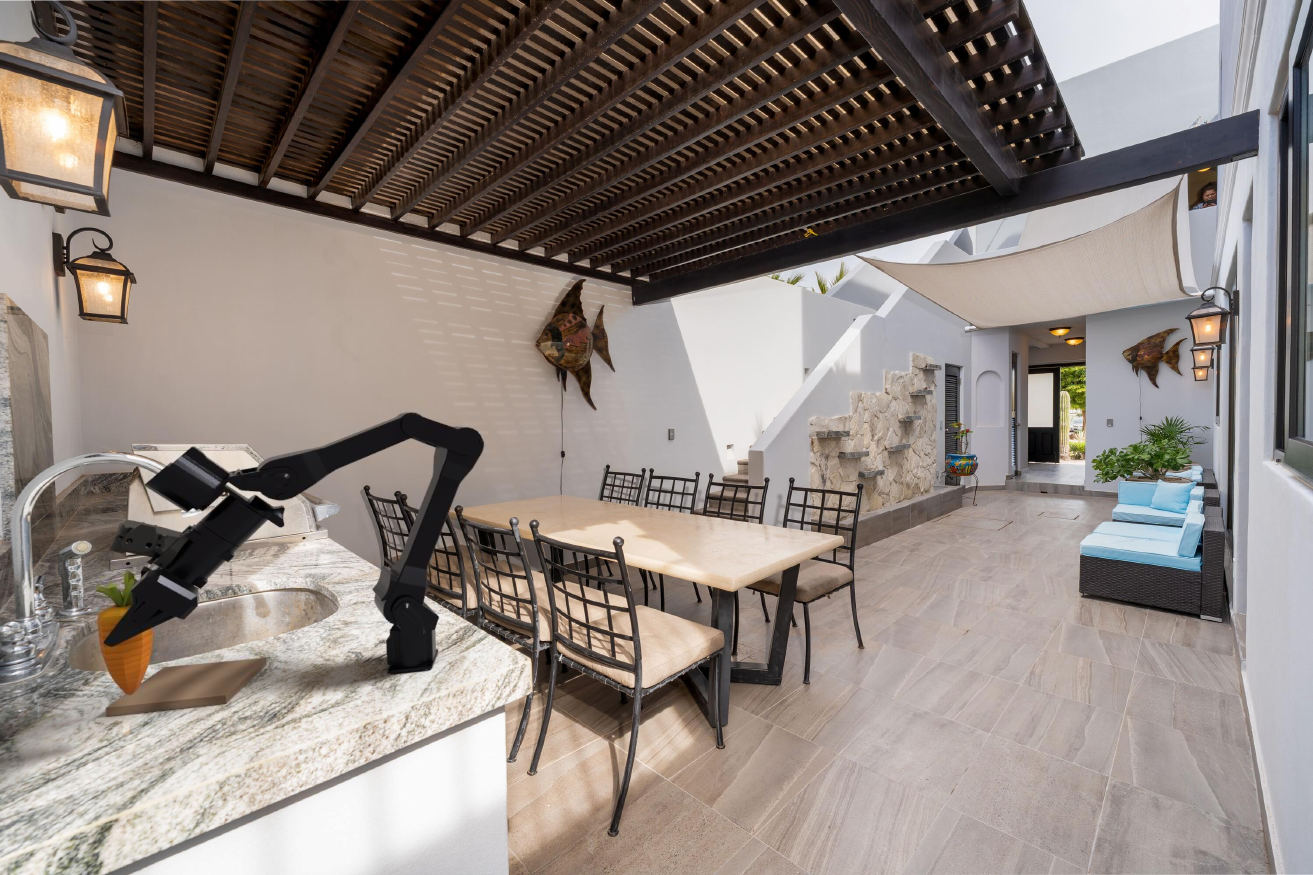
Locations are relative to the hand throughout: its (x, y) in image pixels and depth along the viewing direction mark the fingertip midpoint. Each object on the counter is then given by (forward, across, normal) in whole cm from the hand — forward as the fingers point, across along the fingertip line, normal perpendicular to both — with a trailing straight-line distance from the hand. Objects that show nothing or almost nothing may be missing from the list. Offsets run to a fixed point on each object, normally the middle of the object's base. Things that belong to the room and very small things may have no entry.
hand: (111, 637), depth 67 cm
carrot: (+5, 0, +6) cm, 8 cm away
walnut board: (+5, -12, +14) cm, 19 cm away
